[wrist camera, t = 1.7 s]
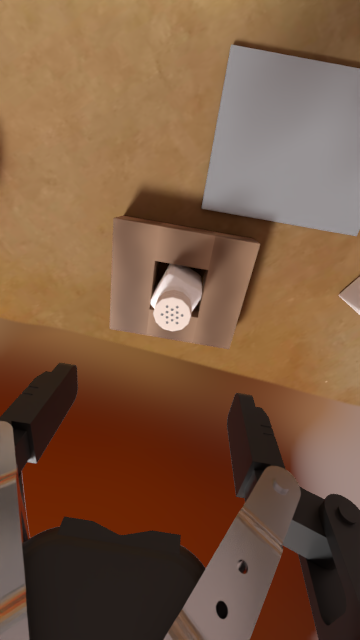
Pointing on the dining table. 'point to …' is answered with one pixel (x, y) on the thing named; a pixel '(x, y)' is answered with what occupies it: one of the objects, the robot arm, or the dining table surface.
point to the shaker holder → (187, 250)
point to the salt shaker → (176, 297)
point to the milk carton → (352, 295)
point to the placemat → (287, 142)
